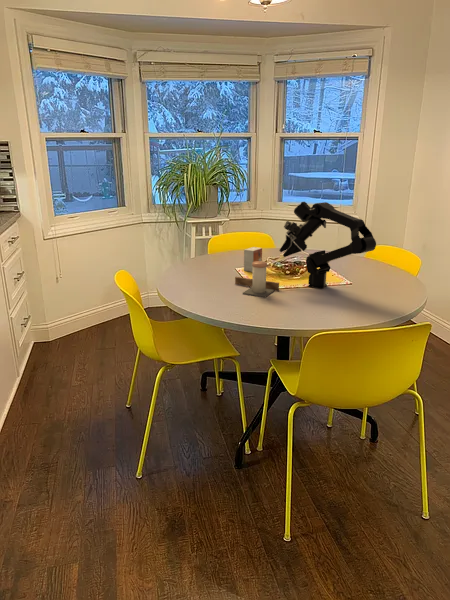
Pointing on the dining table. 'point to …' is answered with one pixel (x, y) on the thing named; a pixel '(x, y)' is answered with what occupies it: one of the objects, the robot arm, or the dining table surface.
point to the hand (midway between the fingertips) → (281, 253)
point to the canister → (259, 277)
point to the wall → (249, 283)
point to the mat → (249, 292)
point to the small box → (251, 257)
